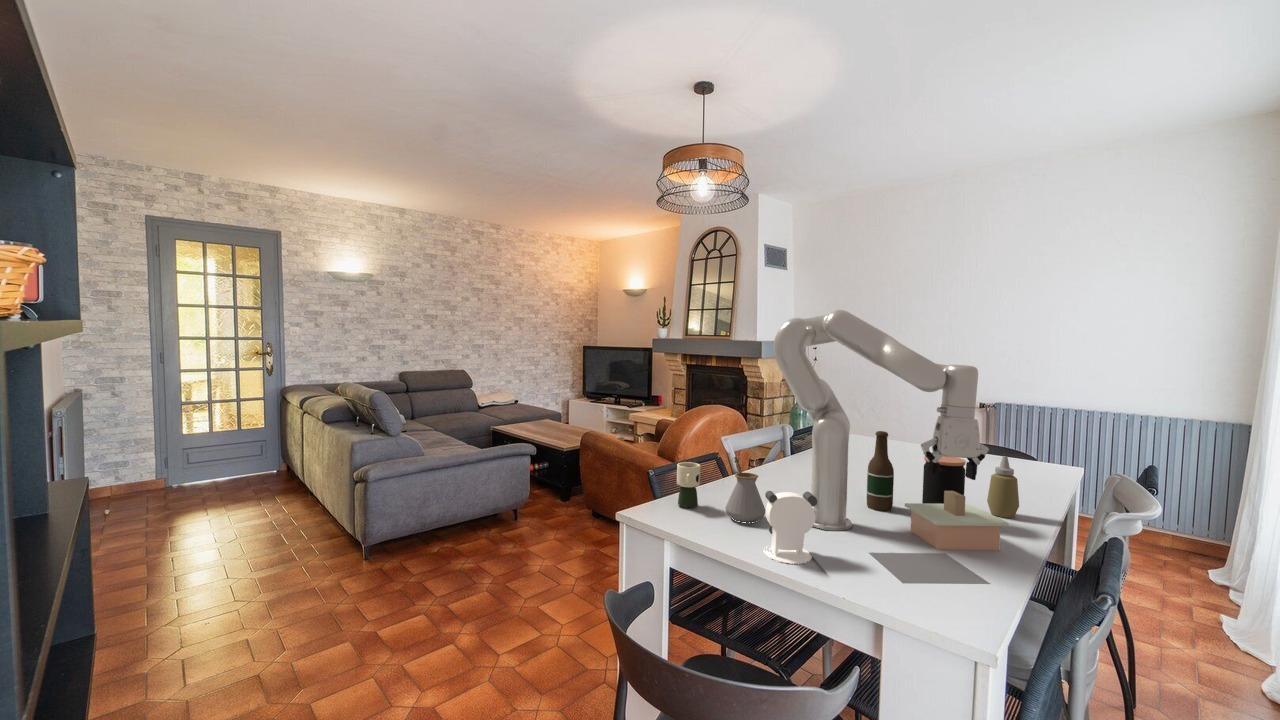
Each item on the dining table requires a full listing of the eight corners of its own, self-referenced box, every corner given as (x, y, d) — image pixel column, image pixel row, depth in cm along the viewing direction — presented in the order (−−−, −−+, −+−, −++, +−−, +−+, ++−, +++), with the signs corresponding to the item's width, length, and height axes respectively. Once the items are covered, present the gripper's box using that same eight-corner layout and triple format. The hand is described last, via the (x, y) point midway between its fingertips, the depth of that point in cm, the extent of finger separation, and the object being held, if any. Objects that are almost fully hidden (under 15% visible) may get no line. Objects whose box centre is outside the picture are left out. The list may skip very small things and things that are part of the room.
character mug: (699, 512, 158) (700, 469, 157) (675, 511, 159) (676, 468, 158) (699, 501, 169) (700, 461, 168) (676, 500, 169) (677, 460, 169)
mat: (902, 585, 112) (902, 582, 112) (868, 555, 128) (868, 552, 128) (990, 586, 113) (990, 583, 113) (945, 555, 129) (945, 553, 129)
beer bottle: (861, 504, 169) (863, 429, 168) (884, 503, 170) (887, 429, 169) (873, 511, 162) (876, 433, 161) (898, 511, 162) (901, 434, 161)
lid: (936, 525, 130) (937, 502, 130) (904, 506, 145) (905, 485, 145) (1008, 526, 130) (1009, 502, 130) (969, 506, 145) (969, 485, 145)
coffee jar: (952, 514, 161) (954, 455, 160) (970, 526, 150) (973, 463, 150) (915, 512, 162) (917, 454, 161) (931, 524, 151) (933, 462, 151)
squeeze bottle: (987, 509, 166) (989, 452, 166) (1018, 514, 161) (1021, 456, 161) (985, 515, 160) (988, 456, 159) (1018, 521, 155) (1021, 460, 154)
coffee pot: (770, 526, 147) (771, 473, 147) (729, 526, 147) (730, 472, 146) (751, 502, 168) (753, 456, 168) (716, 502, 168) (717, 455, 168)
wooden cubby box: (937, 551, 131) (938, 523, 131) (910, 532, 144) (911, 507, 144) (999, 551, 132) (1000, 524, 132) (966, 533, 144) (967, 508, 144)
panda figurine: (805, 545, 134) (807, 487, 133) (821, 564, 122) (823, 500, 122) (758, 545, 133) (759, 486, 133) (770, 564, 122) (772, 500, 121)
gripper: (933, 413, 133) (927, 480, 134) (1000, 416, 133) (994, 483, 134) (916, 408, 140) (911, 472, 141) (980, 412, 141) (975, 475, 142)
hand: (952, 477), depth 138 cm, fingers open, 9 cm apart
